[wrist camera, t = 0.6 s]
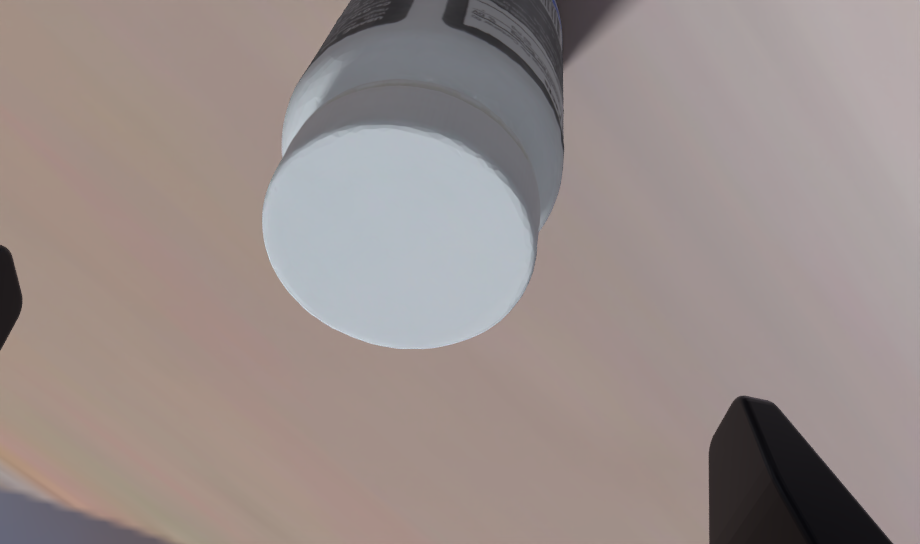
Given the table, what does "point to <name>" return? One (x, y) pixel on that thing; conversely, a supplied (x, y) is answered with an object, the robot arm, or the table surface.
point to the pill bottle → (419, 168)
